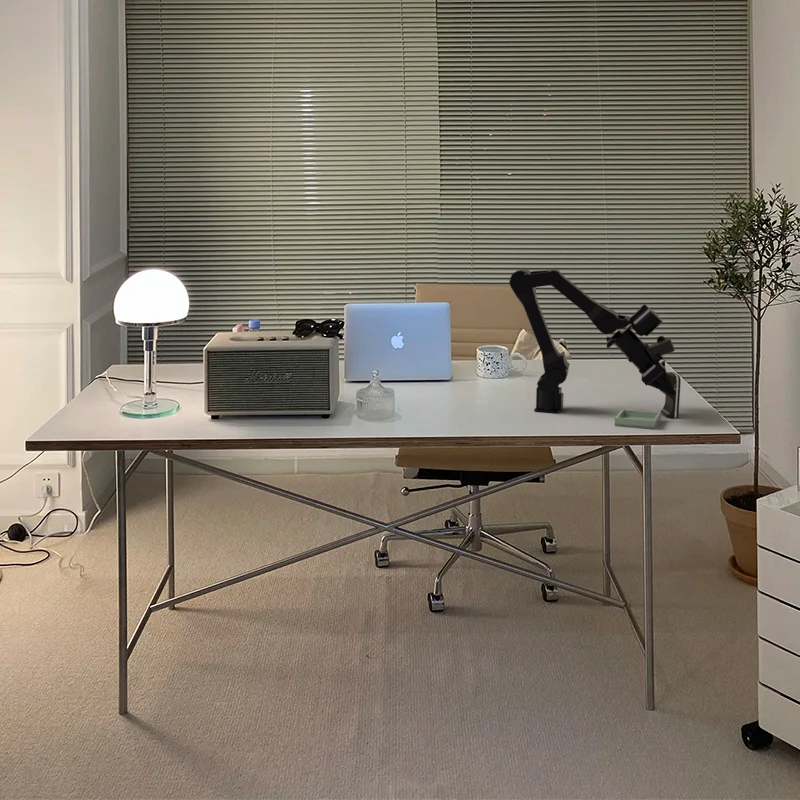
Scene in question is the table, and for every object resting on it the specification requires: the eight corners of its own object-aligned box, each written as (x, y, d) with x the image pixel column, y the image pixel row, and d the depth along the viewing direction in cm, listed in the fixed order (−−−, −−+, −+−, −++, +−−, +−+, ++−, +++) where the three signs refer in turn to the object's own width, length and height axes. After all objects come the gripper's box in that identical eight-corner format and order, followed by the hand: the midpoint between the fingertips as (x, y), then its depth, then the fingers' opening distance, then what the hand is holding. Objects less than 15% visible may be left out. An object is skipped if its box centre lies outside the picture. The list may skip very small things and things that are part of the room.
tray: (614, 425, 266) (614, 417, 266) (621, 417, 275) (622, 409, 275) (654, 429, 263) (654, 421, 262) (660, 420, 272) (661, 412, 271)
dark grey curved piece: (656, 412, 280) (658, 370, 277) (670, 412, 280) (673, 370, 278) (664, 418, 273) (667, 376, 271) (678, 418, 273) (681, 375, 271)
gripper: (657, 333, 263) (700, 378, 264) (656, 322, 281) (696, 364, 281) (624, 362, 267) (666, 406, 267) (625, 350, 285) (665, 391, 285)
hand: (674, 391), depth 275 cm, fingers closed on dark grey curved piece, 7 cm apart
